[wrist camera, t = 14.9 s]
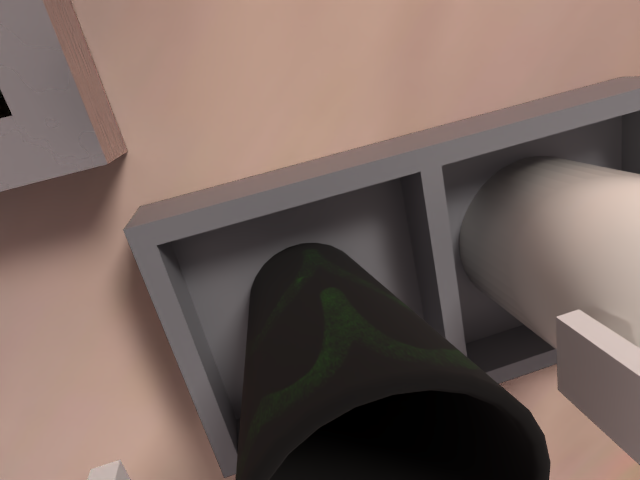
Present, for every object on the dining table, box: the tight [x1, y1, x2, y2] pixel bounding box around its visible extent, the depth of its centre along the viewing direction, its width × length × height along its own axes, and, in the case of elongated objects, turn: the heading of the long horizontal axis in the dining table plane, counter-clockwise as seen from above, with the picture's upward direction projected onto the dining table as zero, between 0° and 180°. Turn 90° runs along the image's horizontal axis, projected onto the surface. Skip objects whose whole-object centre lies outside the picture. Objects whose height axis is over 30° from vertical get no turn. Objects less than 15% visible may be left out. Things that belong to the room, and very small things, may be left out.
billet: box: [459, 156, 640, 350], centre depth 17 cm, size 8×8×12 cm
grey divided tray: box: [123, 76, 640, 478], centre depth 21 cm, size 12×24×4 cm, turn 104°
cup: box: [236, 243, 550, 480], centre depth 16 cm, size 8×8×12 cm
